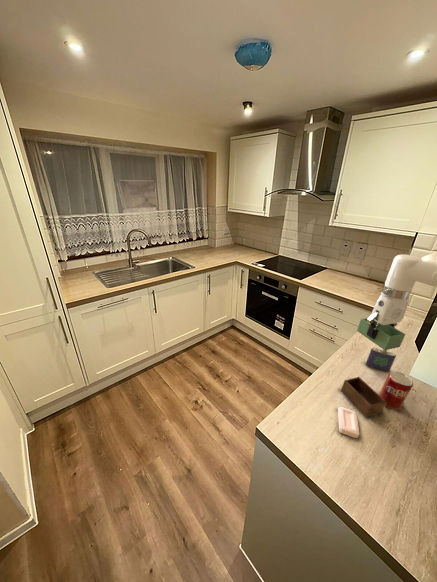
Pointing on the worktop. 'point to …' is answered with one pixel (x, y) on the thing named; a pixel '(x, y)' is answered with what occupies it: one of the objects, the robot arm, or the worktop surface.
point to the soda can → (396, 389)
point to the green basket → (383, 335)
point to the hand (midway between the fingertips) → (378, 335)
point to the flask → (380, 359)
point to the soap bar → (348, 422)
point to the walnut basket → (363, 397)
